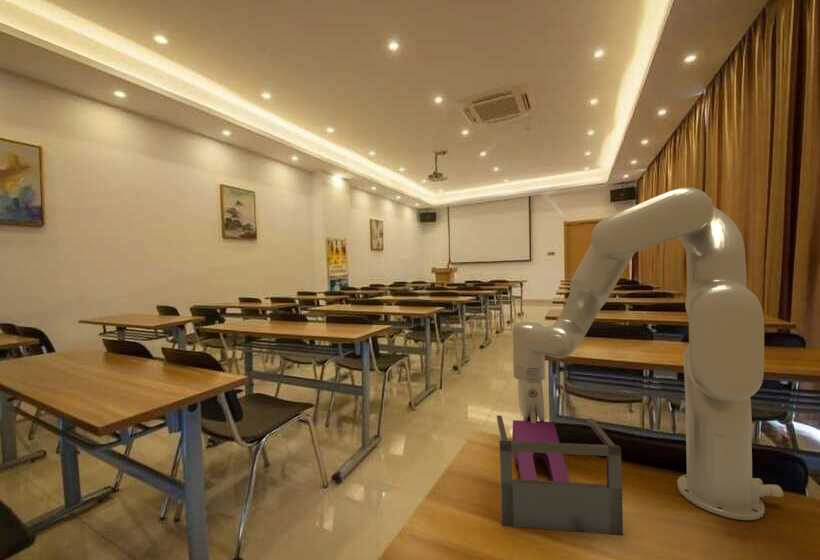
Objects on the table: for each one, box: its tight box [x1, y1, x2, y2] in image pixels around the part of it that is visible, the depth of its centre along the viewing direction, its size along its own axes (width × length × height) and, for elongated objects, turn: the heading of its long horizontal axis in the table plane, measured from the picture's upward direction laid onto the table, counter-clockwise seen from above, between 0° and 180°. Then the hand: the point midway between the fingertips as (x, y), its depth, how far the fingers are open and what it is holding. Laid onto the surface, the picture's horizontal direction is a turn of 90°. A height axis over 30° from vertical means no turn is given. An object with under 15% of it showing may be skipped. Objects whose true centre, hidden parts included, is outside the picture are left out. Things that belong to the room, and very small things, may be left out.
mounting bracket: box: [511, 419, 570, 482], centre depth 77 cm, size 9×8×18 cm
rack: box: [496, 415, 624, 536], centre depth 66 cm, size 20×12×15 cm, turn 81°
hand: (530, 443), depth 88 cm, fingers closed
